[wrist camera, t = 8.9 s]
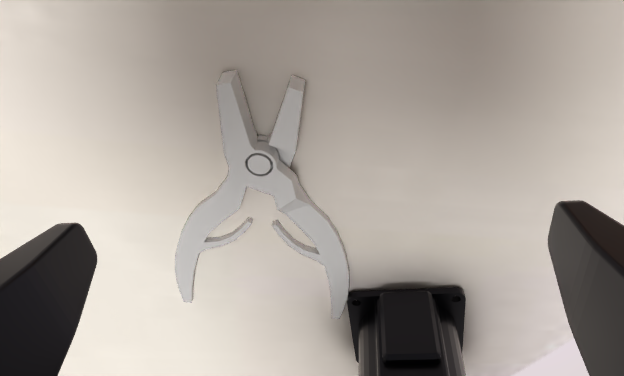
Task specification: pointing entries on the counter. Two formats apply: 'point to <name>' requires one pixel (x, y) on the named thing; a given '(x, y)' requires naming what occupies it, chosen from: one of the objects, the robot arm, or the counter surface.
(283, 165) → the pliers
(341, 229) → the counter surface
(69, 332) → the robot arm
